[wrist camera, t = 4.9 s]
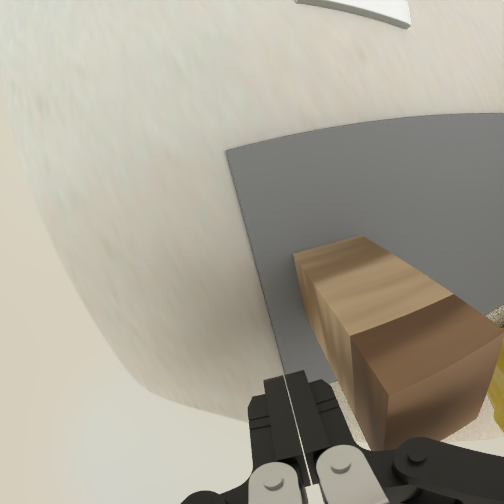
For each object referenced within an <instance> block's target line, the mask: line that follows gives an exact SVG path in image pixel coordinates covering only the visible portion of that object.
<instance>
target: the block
mask: <svg viewBox="0 0 504 504" xmlns="http://www.w3.org/2000/svg"><path fill="white" fill-rule="evenodd" d="M293 257H294V262H295V267H296V271H297V276H298V281H299V285H300V290H301V295H302V300H303V305H304V310H305V315H306V318H307V320H308V322H309V324H310V326H311V328H312V330H313V332H314V334H315V336H316V338H317V340H318V342H319V344H320V346H321V348H322V350H323V352H324V354H325V356H326V358H327V360H328V362H329V364H330V366H331V368H332V370H333V372H334V375H335V377H336V379H337V381H338V383H339V385H340V387H341V389H342V391H343V393H344V395H345V397H346V399H347V401H348V403H349V405H350V407H351V409H352V411H353V414H354V416H355V418H356V420H357V422H358V424H359V426H360V428H361V430H362V432H363V434H364V437H365V439H366V441H367V443H368V445H369V447H370V449H371V451H384V450H393V449H397V448H398V447H399V446H400V445H401V444H402V443H403V442H404V441H406V440H408V439H411V438H414V437H426V438H430V439H433V440H437V441H441V440H443V439H444V438H446V437H448V436H449V435H451V434H453V433H454V432H456V431H458V430H459V429H461V428H462V427H464V426H466V425H467V424H469V423H470V422H472V421H473V420H475V419H476V418H477V416H478V414H479V412H480V409H481V407H482V404H483V402H484V399H485V396H486V394H487V391H488V388H489V385H490V382H491V380H492V377H493V373H494V370H495V367H496V364H497V361H498V357H499V354H500V350H501V346H502V342H503V338H504V330H503V329H501V328H500V327H499V326H497V325H496V324H495V323H493V322H492V321H491V320H489V319H488V318H487V317H485V316H484V315H483V314H481V313H480V312H478V311H477V310H476V309H474V308H473V307H472V306H470V305H469V304H467V303H466V302H464V301H463V300H462V299H460V298H459V297H457V296H456V295H454V294H453V293H452V292H450V291H449V290H447V289H446V288H444V287H443V286H441V285H440V284H438V283H437V282H435V281H434V280H432V279H431V278H429V277H428V276H426V275H425V274H423V273H422V272H420V271H419V270H417V269H416V268H414V267H412V266H411V265H409V264H408V263H406V262H405V261H403V260H401V259H400V258H398V257H397V256H395V255H393V254H392V253H390V252H389V251H387V250H385V249H384V248H382V247H380V246H379V245H377V244H376V243H374V242H372V241H371V240H369V239H367V238H366V237H364V236H362V235H358V236H355V237H351V238H348V239H344V240H341V241H337V242H334V243H330V244H326V245H323V246H319V247H316V248H312V249H308V250H305V251H301V252H298V253H294V254H293Z"/></svg>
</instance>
